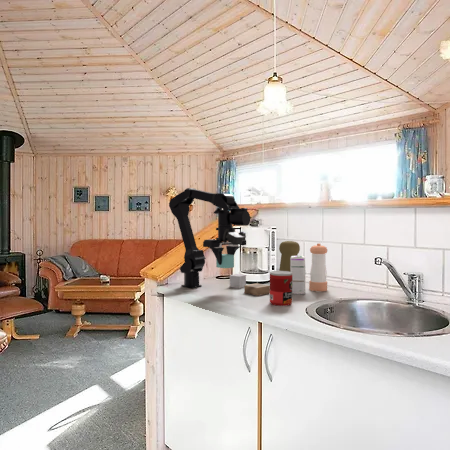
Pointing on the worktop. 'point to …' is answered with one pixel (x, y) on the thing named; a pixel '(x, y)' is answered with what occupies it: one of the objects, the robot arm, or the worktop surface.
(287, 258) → the pepper shaker
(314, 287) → the pepper shaker
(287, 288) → the canned food
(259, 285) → the oak slab
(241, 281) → the grey cube
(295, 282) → the syrup box
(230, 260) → the teal cube
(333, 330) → the worktop surface
